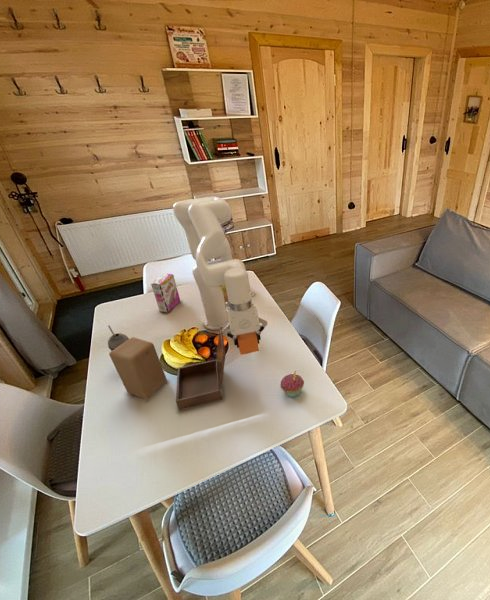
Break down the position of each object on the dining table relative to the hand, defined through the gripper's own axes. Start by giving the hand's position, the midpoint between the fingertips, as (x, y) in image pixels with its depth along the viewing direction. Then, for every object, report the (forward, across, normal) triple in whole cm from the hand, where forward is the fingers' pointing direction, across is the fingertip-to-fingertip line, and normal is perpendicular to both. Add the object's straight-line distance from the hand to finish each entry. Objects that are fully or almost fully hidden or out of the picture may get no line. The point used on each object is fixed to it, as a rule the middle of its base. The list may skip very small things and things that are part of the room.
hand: (248, 343), depth 124 cm
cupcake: (+17, +12, -14) cm, 25 cm away
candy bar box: (+17, -33, +64) cm, 74 cm away
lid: (+4, -11, 0) cm, 11 cm away
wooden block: (+17, -38, +7) cm, 42 cm away
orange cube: (+2, 0, 0) cm, 2 cm away
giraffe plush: (+17, -3, +66) cm, 68 cm away
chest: (+17, -20, 0) cm, 26 cm away
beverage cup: (+17, -46, +23) cm, 55 cm away
